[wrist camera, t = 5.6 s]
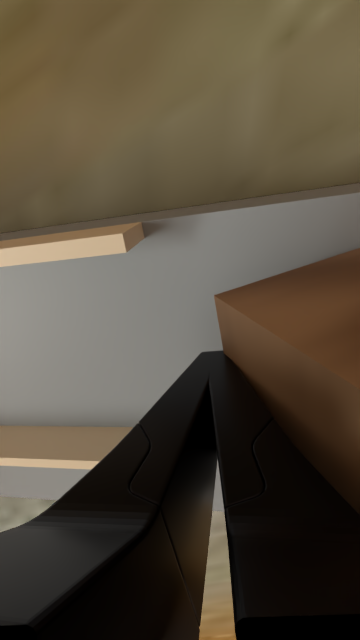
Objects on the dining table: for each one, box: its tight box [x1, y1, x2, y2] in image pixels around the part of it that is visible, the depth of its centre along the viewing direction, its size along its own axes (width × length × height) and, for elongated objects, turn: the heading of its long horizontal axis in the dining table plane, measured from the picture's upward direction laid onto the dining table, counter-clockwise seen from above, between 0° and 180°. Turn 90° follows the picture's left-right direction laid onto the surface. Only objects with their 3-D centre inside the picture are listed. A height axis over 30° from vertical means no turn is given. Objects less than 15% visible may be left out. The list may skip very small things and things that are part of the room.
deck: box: [0, 183, 360, 512], centre depth 13 cm, size 24×14×4 cm, turn 99°
